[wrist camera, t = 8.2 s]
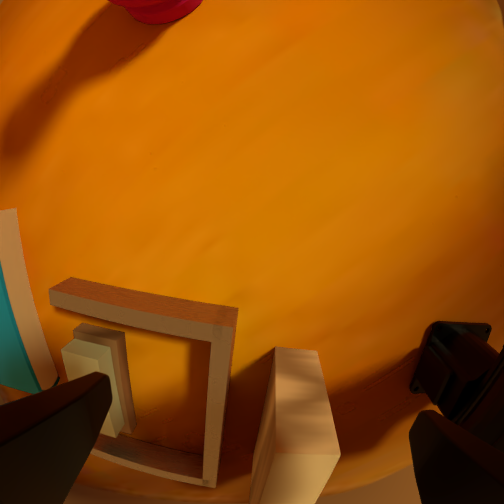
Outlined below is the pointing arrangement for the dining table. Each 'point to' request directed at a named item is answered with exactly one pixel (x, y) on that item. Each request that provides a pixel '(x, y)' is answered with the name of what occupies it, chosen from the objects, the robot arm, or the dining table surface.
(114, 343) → the offcut low
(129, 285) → the dining table surface
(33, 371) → the book
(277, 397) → the sheet
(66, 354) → the offcut top
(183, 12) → the pepper mill
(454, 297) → the dining table surface
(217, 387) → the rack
